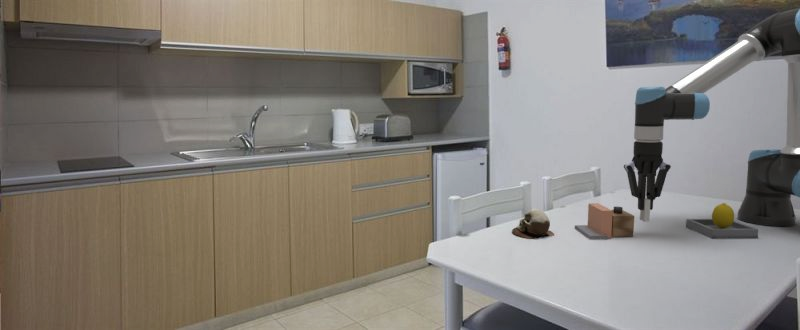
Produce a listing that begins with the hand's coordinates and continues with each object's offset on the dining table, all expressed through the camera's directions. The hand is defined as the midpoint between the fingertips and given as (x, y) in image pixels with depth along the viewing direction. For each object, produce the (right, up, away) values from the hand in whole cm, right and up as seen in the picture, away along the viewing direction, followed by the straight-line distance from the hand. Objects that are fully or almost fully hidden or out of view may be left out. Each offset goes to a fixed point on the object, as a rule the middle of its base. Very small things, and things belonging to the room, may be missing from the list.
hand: (644, 220), depth 149 cm
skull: (-33, -4, +1) cm, 33 cm away
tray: (+23, -3, 0) cm, 23 cm away
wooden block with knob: (-8, -4, 0) cm, 9 cm away
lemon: (+23, -3, 0) cm, 23 cm away
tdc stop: (-15, -4, 0) cm, 16 cm away
